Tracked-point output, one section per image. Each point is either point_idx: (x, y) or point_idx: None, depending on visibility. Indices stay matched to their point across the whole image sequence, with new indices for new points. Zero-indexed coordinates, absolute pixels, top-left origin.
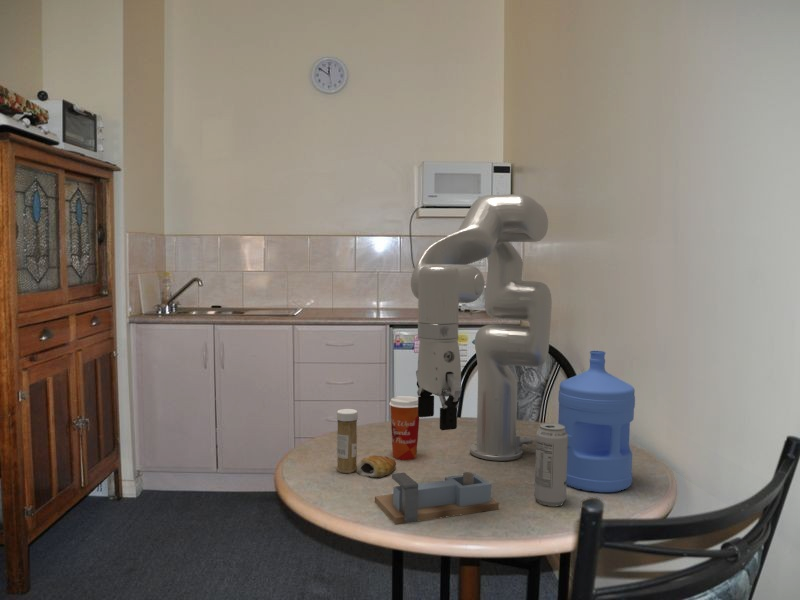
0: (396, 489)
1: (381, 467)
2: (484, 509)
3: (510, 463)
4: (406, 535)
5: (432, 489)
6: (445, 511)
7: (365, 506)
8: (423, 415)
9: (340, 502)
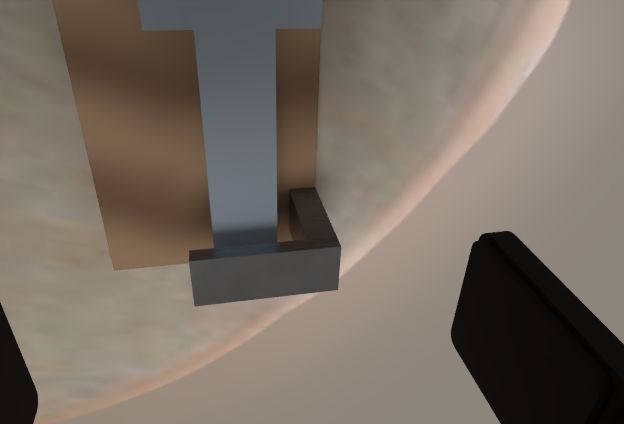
0: None
1: None
2: None
3: None
4: (383, 229)
5: (274, 144)
6: (318, 85)
7: (146, 285)
8: (24, 384)
9: (96, 340)
